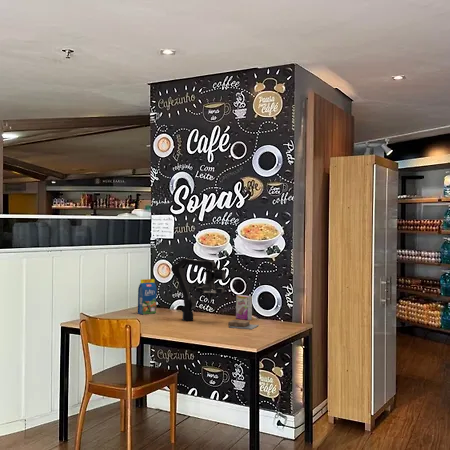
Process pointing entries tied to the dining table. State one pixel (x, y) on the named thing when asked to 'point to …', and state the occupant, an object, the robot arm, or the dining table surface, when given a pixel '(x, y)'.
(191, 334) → the dining table surface
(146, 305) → the blue food package
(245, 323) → the walnut tile
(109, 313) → the dining table surface
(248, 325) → the slate board
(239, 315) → the candy bar box
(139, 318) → the dining table surface
